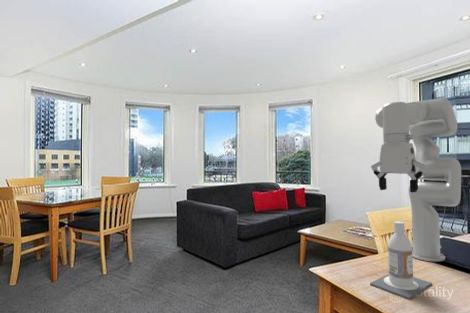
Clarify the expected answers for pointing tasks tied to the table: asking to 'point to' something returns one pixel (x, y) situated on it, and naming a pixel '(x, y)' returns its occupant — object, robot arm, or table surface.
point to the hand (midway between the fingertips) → (397, 190)
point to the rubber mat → (401, 290)
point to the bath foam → (400, 257)
